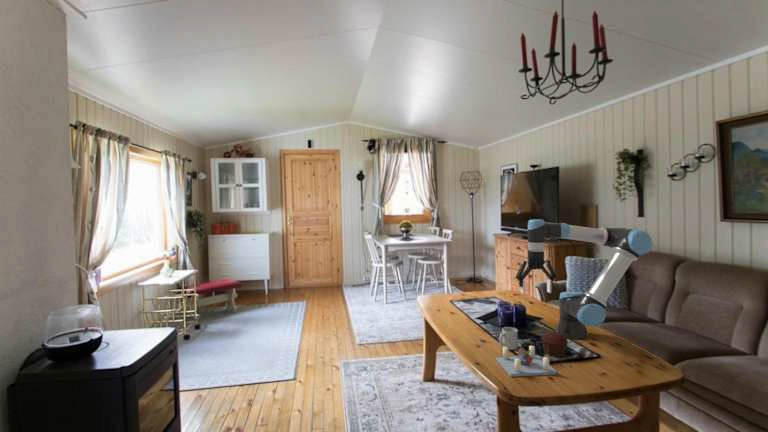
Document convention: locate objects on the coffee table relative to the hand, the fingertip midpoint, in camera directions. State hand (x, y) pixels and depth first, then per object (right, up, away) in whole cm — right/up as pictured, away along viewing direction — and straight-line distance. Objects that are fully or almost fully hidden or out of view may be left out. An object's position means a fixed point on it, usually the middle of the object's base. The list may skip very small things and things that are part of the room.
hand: (535, 292), depth 181 cm
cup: (-14, -27, -1) cm, 31 cm away
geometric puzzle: (-14, -27, -22) cm, 37 cm away
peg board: (-14, -28, -22) cm, 38 cm away
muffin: (+5, -27, -9) cm, 29 cm away
